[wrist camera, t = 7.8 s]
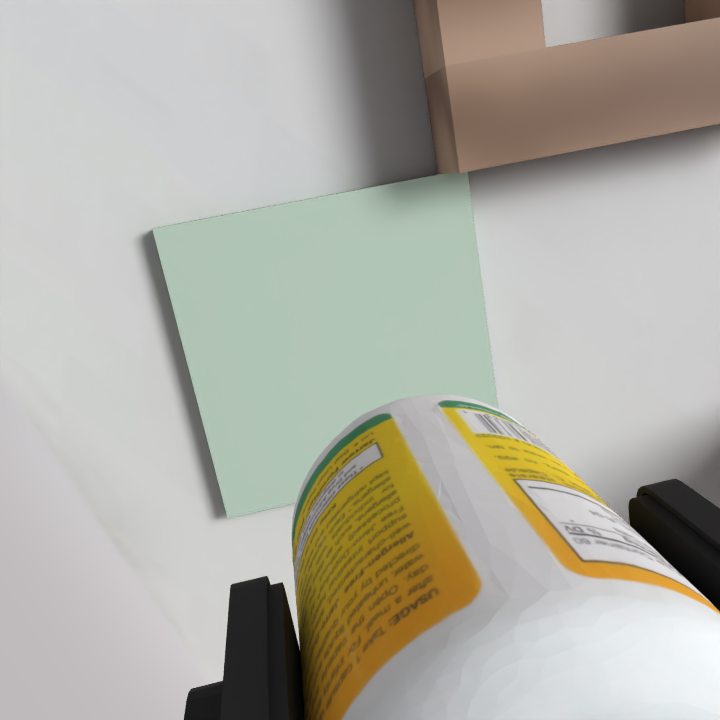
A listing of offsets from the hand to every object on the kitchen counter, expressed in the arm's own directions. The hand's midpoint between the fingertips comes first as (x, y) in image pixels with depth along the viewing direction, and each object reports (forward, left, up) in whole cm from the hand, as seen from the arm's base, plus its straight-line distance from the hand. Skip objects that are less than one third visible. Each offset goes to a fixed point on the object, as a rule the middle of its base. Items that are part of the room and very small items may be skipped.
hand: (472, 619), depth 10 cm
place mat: (0, 0, -18) cm, 18 cm away
